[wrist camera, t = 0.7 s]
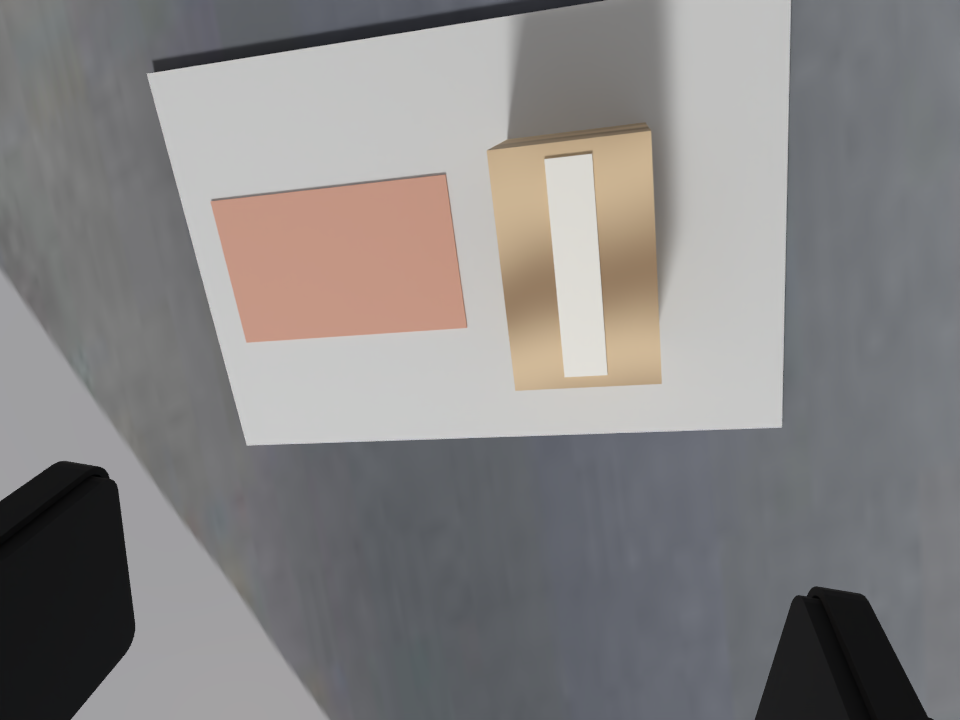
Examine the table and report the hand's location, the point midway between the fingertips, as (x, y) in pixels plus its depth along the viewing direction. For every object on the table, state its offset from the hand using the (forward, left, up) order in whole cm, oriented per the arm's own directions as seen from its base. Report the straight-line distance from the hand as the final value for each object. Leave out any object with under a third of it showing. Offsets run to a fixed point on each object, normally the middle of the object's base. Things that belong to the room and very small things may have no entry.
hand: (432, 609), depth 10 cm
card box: (-1, 0, -22) cm, 22 cm away
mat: (+4, 0, -23) cm, 23 cm away
